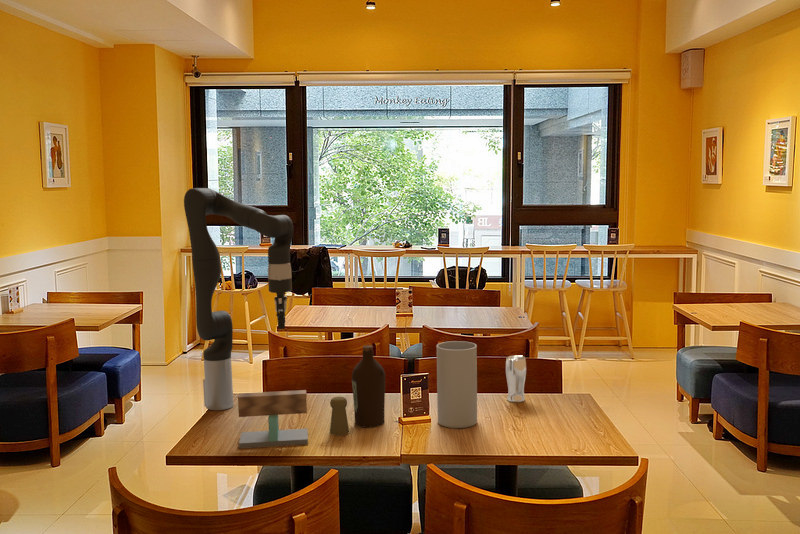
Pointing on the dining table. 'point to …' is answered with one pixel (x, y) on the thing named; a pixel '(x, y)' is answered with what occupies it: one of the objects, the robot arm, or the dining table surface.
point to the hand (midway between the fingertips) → (281, 326)
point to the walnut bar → (272, 403)
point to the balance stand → (273, 436)
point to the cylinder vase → (457, 384)
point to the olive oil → (368, 390)
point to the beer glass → (516, 377)
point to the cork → (339, 416)
